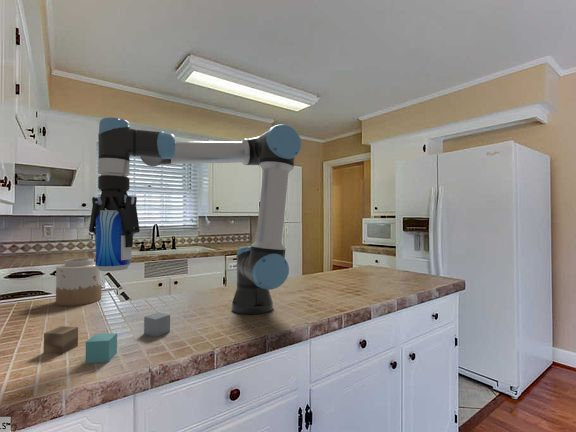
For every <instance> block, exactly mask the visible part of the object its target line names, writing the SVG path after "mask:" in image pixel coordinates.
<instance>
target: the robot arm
mask: <svg viewBox="0 0 576 432" xmlns="http://www.w3.org/2000/svg"><path fill="white" fill-rule="evenodd" d="M98 125H99V127H98V134H97V135H98V140H97V141H98V142H97V143H98V160H97V163H98V164H97V168H98V169H97V173H98V175H99V176H98V178H97V187H98V188H97V189H99V190H100V191H101V192H100V195H99V196H98V197H97V196H92V197H91V202H92V207H91V212H90V213H91V214H90V222H89V226H88V231H89V233H93V234H94V239H95V240H94V245H95V246H96V218H97V217H98V215H99V214H100V211H101V210H116V211H118V213H119V215H120V217H121V227H122V230H123V234H122V235H123V236H121V260H128V259H131V260H132V247H133V246H134V235H135V234H138V233H140V225H139V217H138V210H137V200H138V199H137V196H136V195H135V196H134V195H128V191H129V190H130V178H129V177H128V176H130V162H131V161H130V157H139V158H140V159H141V161H142V162H143V163H144V164H145V165H147V166H149V167H157V166H160V165H183V164H184V165H185V164H186V165H187V164H189V165H190V164H195V165H196V164H224V163H225V164H229V163H230V164H231V163H232V164H234V163H235V164H236V163H238V164H239V163H242V164H243V165H244V166H260V168H261V169H262V178H261V179H262V180H261V189H260V190H261V191H260V198H259V199H260V200H259V209H258V220H257V229H256V240H255V242H253V243H252V244H251V245H250V246H241V247H239V248H238V249H237V251H236V289H235V293H234V296H233V299H232V301H231V302H232V303H231V311H233V312H234V313H237V314H242V315H258V314H259V315H260V314H265V313H269V312H271V311H272V310H273V308H274V302H273V299H272V295H271V292H270V291H271V290H275V289H278V288H279V287H281V286H282V285H283V284H284V283H285V282H286V280H287V279H288V277H289V272H290V266H289V263H288V260H287V259H286V247H285V245H284V244H283V243H282V242H283V232H284V224H285V222H284V221H285V212H286V202H287V201H286V200H287V190H288V179H289V174H290V172H291V171H292V170H294V165H295V157H297V155H299V153H300V151H301V148H302V141H301V140H302V139H301V137H300V135H299V133H298V132H297V131H296V129H295V128H294V127H292V126H290V125H288V124H284V123H281V124H277V125H273V126H271V127H269V129H268V130H267V131H266V132H264V133H262V134H260V135H259V136H256V137H251V138H243V139H242V140H241V141H238V140H237V141H236V140H234V141H233V140H230V141H223V140H221V141H219V140H217V141H215V140H214V141H213V140H211V141H209V140H208V141H207V140H206V141H204V140H202V141H201V140H199V141H197V140H195V141H194V140H192V141H191V140H190V141H189V140H188V141H187V140H185V141H183V140H181V141H180V140H179V141H177V140H176V136H175V134H173V133H169V132H164V131H153V130H145V129H134V128H131V124H130V122H129V121H128V120H126V119H124V118H118V117H103V118H102V119H100V121H99V123H98Z"/></svg>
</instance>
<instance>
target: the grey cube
mask: <svg viewBox="0 0 576 432" xmlns="http://www.w3.org/2000/svg"><path fill="white" fill-rule="evenodd" d="M170 332H171V314H168V313H164V312H159V311H158V312H156V313H152V314H149V315H146V316H143V334H144V335H147V336H151V337H153V338H156V337H159V336H162V335H165V334H167V333H170Z"/></svg>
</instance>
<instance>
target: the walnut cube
mask: <svg viewBox="0 0 576 432" xmlns="http://www.w3.org/2000/svg"><path fill="white" fill-rule="evenodd" d="M78 346H79V327H78V326H62V325H61V326H58V327H55V328H53V329H51V330H48V331H45V332H44V333H43V354H50V353H51V354H55V355H64V354H66V353H68V352H69V351H71V350H73V349H75V348H77V347H78ZM63 353H64V354H63Z"/></svg>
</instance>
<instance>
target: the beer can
mask: <svg viewBox="0 0 576 432" xmlns="http://www.w3.org/2000/svg"><path fill="white" fill-rule="evenodd" d="M122 234H123V230H122V227H121V217H120V215H119V213H118V211H116V210H101V211H100V214H99V215H98V217H97V218H96V245H95V263H96V267H97V268H98V269H99V271H102V272H117V271H124V270H127V269H128V268H129V266H131V264H132V263H131V260H132V258H131V259H128V260H121V236H123V235H122Z"/></svg>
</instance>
